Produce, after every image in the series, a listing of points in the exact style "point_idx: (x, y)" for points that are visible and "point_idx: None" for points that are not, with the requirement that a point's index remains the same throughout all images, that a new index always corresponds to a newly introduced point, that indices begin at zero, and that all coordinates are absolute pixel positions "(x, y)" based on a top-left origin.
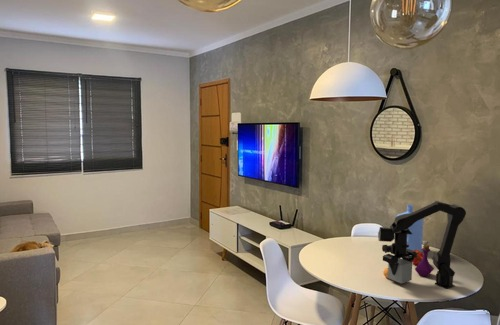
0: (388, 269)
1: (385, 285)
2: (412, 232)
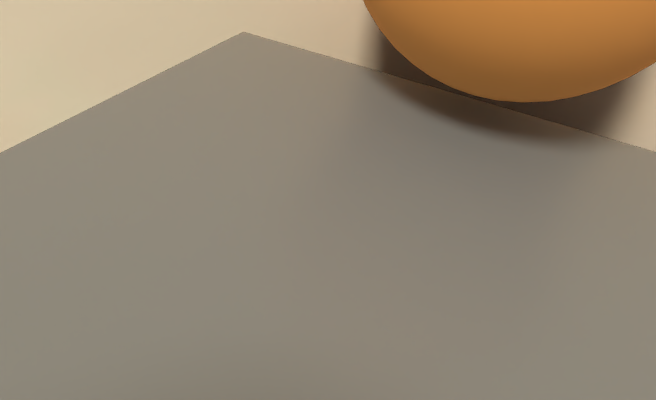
0: (89, 123)
1: (71, 68)
2: None
